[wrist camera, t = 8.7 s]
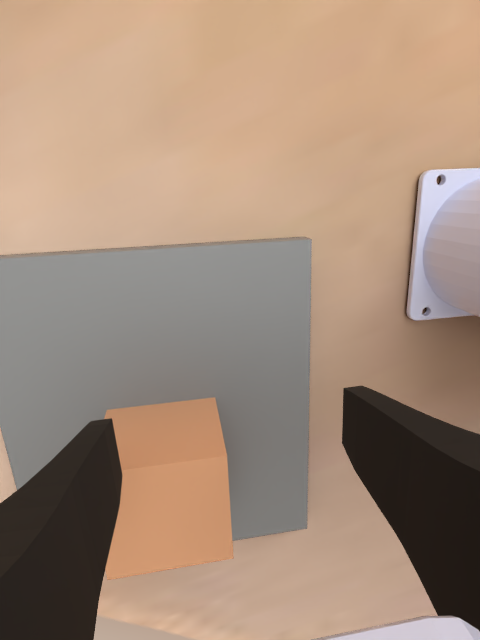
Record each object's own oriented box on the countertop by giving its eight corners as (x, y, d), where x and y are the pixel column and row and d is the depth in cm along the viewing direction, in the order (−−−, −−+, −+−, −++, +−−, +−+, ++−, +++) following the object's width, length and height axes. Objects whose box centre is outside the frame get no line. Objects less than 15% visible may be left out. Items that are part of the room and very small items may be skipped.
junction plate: (303, 236, 21) (339, 249, 16) (301, 513, 26) (327, 579, 22) (-31, 257, 18) (-96, 277, 14) (45, 554, 24) (16, 636, 20)
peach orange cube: (215, 397, 21) (226, 455, 16) (221, 483, 23) (233, 558, 18) (106, 409, 20) (87, 474, 16) (121, 497, 22) (107, 580, 17)
